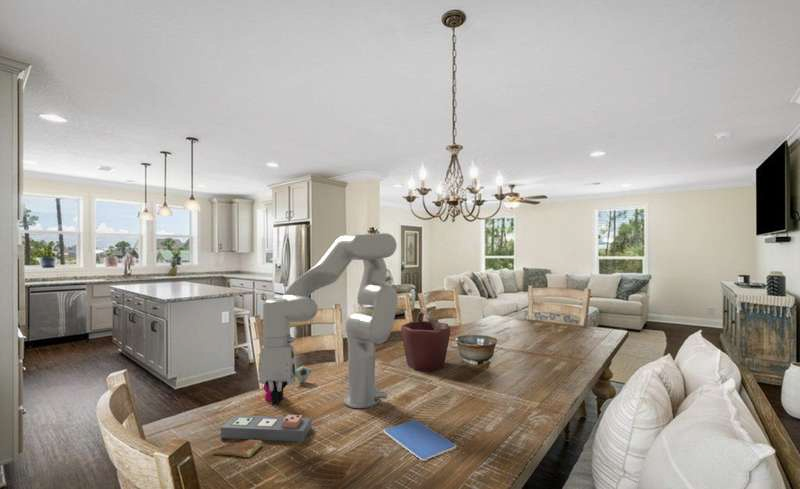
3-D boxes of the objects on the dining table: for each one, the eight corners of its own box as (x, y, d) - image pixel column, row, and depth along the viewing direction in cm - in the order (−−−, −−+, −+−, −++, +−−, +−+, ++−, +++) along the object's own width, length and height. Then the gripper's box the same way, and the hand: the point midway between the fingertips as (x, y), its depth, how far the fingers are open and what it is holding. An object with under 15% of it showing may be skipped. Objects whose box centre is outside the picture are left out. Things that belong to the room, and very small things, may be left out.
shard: (211, 456, 99) (211, 449, 99) (229, 441, 107) (229, 435, 107) (248, 460, 97) (248, 453, 97) (264, 445, 105) (264, 438, 105)
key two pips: (253, 424, 113) (253, 417, 113) (246, 432, 109) (246, 424, 109) (239, 424, 114) (239, 417, 114) (231, 431, 109) (231, 423, 109)
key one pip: (277, 425, 113) (277, 418, 113) (271, 433, 108) (271, 425, 108) (263, 425, 113) (263, 417, 113) (256, 432, 109) (256, 424, 109)
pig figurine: (311, 379, 155) (311, 363, 155) (313, 383, 152) (313, 366, 152) (291, 382, 152) (291, 366, 152) (293, 386, 148) (293, 369, 148)
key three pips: (302, 421, 112) (302, 414, 112) (296, 428, 108) (296, 421, 108) (287, 421, 112) (287, 413, 112) (281, 428, 108) (282, 420, 108)
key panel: (311, 428, 114) (311, 418, 114) (302, 441, 106) (302, 430, 106) (235, 424, 116) (235, 415, 116) (220, 437, 108) (220, 427, 108)
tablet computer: (458, 450, 103) (458, 445, 103) (422, 465, 96) (422, 460, 96) (415, 422, 119) (415, 418, 119) (381, 434, 111) (381, 429, 111)
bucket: (451, 374, 162) (452, 317, 163) (400, 374, 163) (401, 316, 163) (445, 358, 187) (446, 308, 187) (401, 357, 187) (401, 307, 188)
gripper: (305, 338, 114) (306, 399, 114) (258, 337, 115) (259, 397, 115) (296, 345, 106) (296, 410, 106) (246, 344, 108) (246, 407, 108)
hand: (277, 403), depth 111 cm, fingers closed
